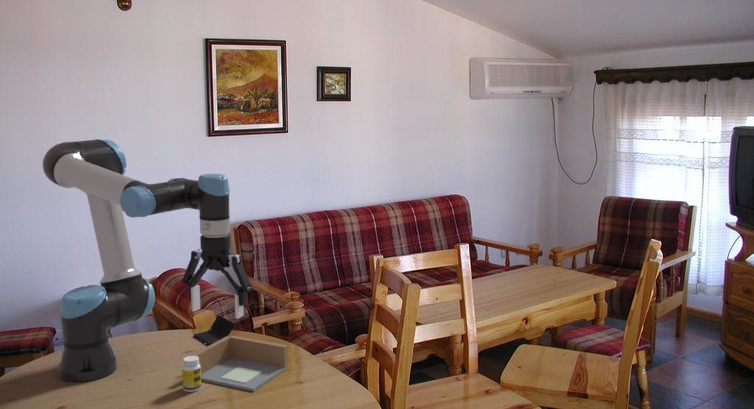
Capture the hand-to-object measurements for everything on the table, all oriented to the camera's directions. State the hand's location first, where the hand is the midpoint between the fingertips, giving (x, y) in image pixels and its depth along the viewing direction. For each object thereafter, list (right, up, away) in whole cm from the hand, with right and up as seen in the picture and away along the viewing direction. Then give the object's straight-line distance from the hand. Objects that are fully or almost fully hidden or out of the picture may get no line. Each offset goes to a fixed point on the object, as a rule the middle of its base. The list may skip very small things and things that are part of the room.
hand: (217, 313), depth 183 cm
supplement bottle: (-7, -20, +2) cm, 22 cm away
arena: (+4, -18, +12) cm, 22 cm away
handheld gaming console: (-10, -14, +39) cm, 43 cm away
